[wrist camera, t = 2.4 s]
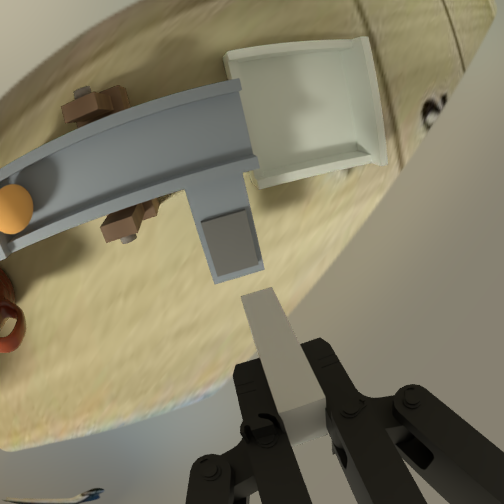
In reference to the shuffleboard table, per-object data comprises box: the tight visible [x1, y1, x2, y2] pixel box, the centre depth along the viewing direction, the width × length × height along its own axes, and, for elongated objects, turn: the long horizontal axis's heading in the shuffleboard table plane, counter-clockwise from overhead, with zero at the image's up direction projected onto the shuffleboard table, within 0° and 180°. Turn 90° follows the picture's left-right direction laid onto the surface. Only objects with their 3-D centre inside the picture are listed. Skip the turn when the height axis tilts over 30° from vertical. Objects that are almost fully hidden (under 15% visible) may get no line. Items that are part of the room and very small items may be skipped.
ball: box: [0, 184, 33, 234], centre depth 16 cm, size 3×3×3 cm
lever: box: [0, 78, 265, 284], centre depth 19 cm, size 20×14×3 cm
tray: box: [222, 36, 388, 190], centre depth 23 cm, size 12×12×4 cm
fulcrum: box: [61, 85, 159, 244], centre depth 20 cm, size 12×11×8 cm
